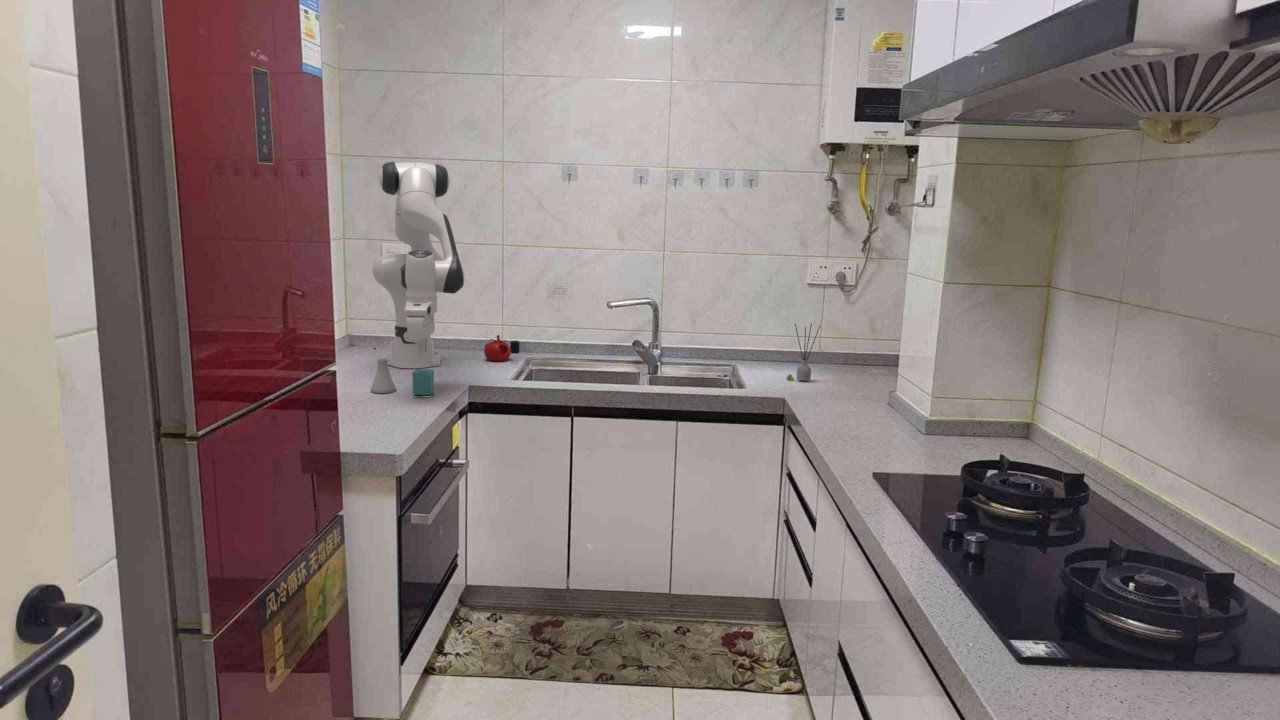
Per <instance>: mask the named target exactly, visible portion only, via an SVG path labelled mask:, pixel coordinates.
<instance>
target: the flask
mask: <svg viewBox="0 0 1280 720" xmlns="http://www.w3.org/2000/svg"><path fill="white" fill-rule="evenodd" d="M388 361H389V358H383V357H382V358H377V359H376V362H377V370H376V374H375V376H374V379H373V382H372V385H371V388H370V390H369V391H370V392H371V393H373V394H383V395H384V394H390V393H394V392H396V391H397V388H396V385H395V383H394V381H393V379H392V375H391V373H390V370H389V367H388V366H389V365H388V364H387V362H388Z"/></svg>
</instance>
